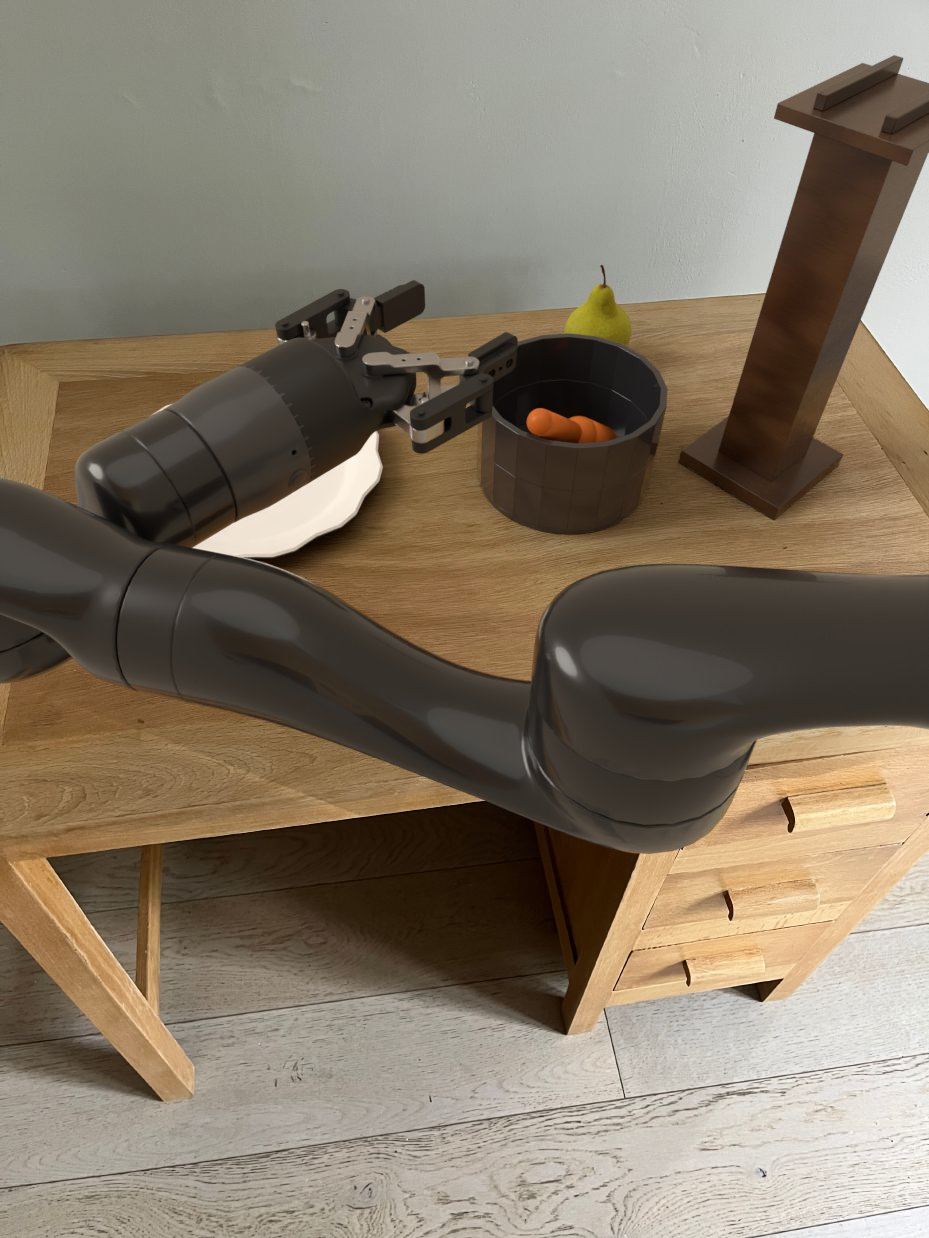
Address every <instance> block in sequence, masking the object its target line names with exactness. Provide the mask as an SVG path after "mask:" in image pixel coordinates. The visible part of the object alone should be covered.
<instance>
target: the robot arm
mask: <svg viewBox="0 0 929 1238" xmlns="http://www.w3.org/2000/svg"><path fill="white" fill-rule="evenodd" d="M425 309H426V289H425V285H424V284H422V283H421V282H419V281H417V280H416V279H412V280H411V281H408V282H407V283H403V284H400V285H399V284H398V285H397V286H395V287H393V288H392V289H388V290H387V291H385V292H383V293H381V294H379V295H377V296H375V297H373V296H371V295H370V296H369V295H363V296H360V297H358V298H357V299H356V298H354V297H353V298H352V297H351V294H350V291H349V290H347V289H345V288H338V289H335V290H333V291H332V290H331V292H328V293H327V294H325V295H323V296H322V297H319V298H317V299H316V300H314V301H312V302H310V303H309V304H306V305H305V306H303V307H301V308H300V309H297V310H296V311H293V312H292V313H290V314H289V315H287V316H284V317H283V318H281V319H279V320H278V321H276V322H275V323H274V325H275V326H274V327H275V332H276V340H277V346H275V347H273V348H271V349H269V350H267V351H265V352H263V353H260V354H259V355H257V356H255V357H253V358H250V359H249V360H247V361H245V362H243V363H241V364H239V365H237V366H235V367H233V368H231V369H229V370H227V371H226V372H223V373H221V374H219V375H217V376H215V377H213V378H211V379H209V380H207V381H206V382H203V383H201V384H200V385H198V386H196V387H195V388H193V389H192V390H190V391H188V392H187V393H186V394H184V395H182V396H181V397H180V398H179V399H177V400H176V401H175V402H173V403H171V404H172V405H170V404H169V405H170V406H168V407H166V408H165V409H163V410H162V411H159V410H158V411H159V412H157V411H156V412H157V413H155V412H154V413H155V414H154V413H152V414H153V415H152V414H151V415H149V416H148V417H145V418H143V419H141V420H140V421H137V422H136V423H133V424H131V425H130V426H128V427H125V428H124V429H122V430H120V431H118V432H116V433H113V434H112V435H110V436H108V437H105V438H103V439H102V440H101V441H98V442H97V443H95V444H93V445H91V446H90V447H88V448H87V449H86V450H85V451H83V452H82V453H81V455H79V456H78V458H77V460H76V462H75V466H74V487H75V492H76V497H77V498H76V501H77V505H76V504H74V503H72V502H70V501H68V500H65V499H64V498H61V497H59V496H56V495H54V494H52V493H49V492H47V491H45V490H42V489H40V488H37V487H34V486H32V485H30V484H26V483H22V482H19V481H16V480H11V479H7V478H4V477H3V478H2V477H0V685H3V684H6V685H7V684H12V683H13V684H14V683H19V682H24V681H28V680H31V679H34V678H38V677H40V676H42V675H45V674H48V673H49V672H52V671H54V670H56V669H58V668H59V667H62V666H63V665H65V664H66V663H68V662H69V661H71V660H72V659H73V660H74V661H75V662H76V663H77V664H78V665H79V666H80V667H81V668H82V669H83V670H85V671H86V672H87V673H89V674H90V675H91V676H93V677H94V678H96V679H98V680H100V681H102V682H104V683H107V684H108V685H109V684H110V685H113V686H116V687H118V688H121V689H122V688H123V689H125V690H130V691H134V692H139V693H143V694H147V695H152V696H156V697H161V698H164V699H169V700H173V701H178V702H183V703H186V704H191V705H195V706H200V707H203V708H209V709H213V710H218V711H222V712H227V713H231V714H235V715H239V716H243V717H247V718H251V719H255V720H259V721H262V722H267V723H269V724H270V723H271V724H274V725H277V726H281V727H285V728H287V729H292V730H295V731H298V732H301V733H303V734H307V735H310V736H312V737H315V738H319V739H321V740H325V741H327V742H330V743H332V744H336V745H339V746H341V747H345V748H347V749H350V750H353V751H356V752H359V753H361V754H364V755H366V756H368V757H372V758H374V759H377V760H379V761H382V762H385V763H387V764H390V765H393V766H395V767H397V768H400V769H402V770H406V771H408V772H410V773H413V774H415V775H419V776H421V777H423V778H426V779H429V780H431V781H434V782H436V783H439V784H441V785H444V786H446V787H449V788H452V789H454V790H457V791H460V792H462V793H465V794H467V795H470V796H472V797H475V798H477V799H480V800H482V801H485V802H487V803H489V804H492V805H494V806H497V807H499V808H501V809H504V810H506V811H508V812H511V813H514V814H515V815H518V816H521V817H523V818H525V819H528V820H530V821H532V822H535V823H537V824H539V825H542V826H545V827H547V828H550V829H551V830H555V831H557V832H560V833H563V834H565V835H568V836H570V837H574V838H576V839H579V840H581V841H584V842H587V843H589V844H593V845H597V846H599V847H603V848H607V849H610V850H616V851H618V852H619V851H621V852H625V853H631V854H643V855H645V854H646V855H653V854H661V853H671V852H674V851H678V850H680V849H683V848H687V847H689V846H692V845H694V844H695V843H697V842H698V841H700V840H702V839H703V838H704V837H706V836H707V835H709V834H710V833H711V832H712V831H713V830H714V829H715V828H716V827H717V826H718V824H719V823H721V821H722V820H723V819H724V817H725V815H726V813H727V812H728V811H729V808H730V807H731V805H732V803H733V801H734V798H735V796H736V794H737V791H738V789H739V787H740V785H741V782H742V780H743V778H744V775H745V772H746V769H747V766H748V764H749V761H750V759H751V757H752V755H753V752H754V749H755V747H756V744H757V743H758V741H759V740H760V739H764V738H767V737H771V736H776V735H780V734H786V733H794V732H800V731H809V730H817V729H818V730H819V729H827V728H831V729H832V728H855V727H880V726H881V727H883V726H884V727H885V726H893V727H912V728H916V729H917V728H918V729H923V730H928V731H929V573H927V574H925V573H924V574H892V573H891V574H890V573H889V574H887V573H885V574H883V573H882V574H878V573H857V572H856V573H855V572H837V571H820V570H804V569H803V570H802V569H791V568H790V569H787V568H774V567H773V568H771V567H756V566H743V565H742V566H738V565H721V564H703V563H702V564H701V563H647V564H645V563H644V564H634V565H628V566H621V567H617V568H611V569H606V570H601V571H598V572H595V573H593V574H590V575H587V576H585V577H582V578H580V579H578V580H576V581H574V582H572V583H571V584H569V585H567V586H566V587H564V588H563V589H562V590H561V591H559V593H557V594H556V595H555V596H554V597H553V598H552V599H551V601H550V602H549V603H548V605H547V606H546V607H545V609H544V611H543V612H542V614H541V617H540V619H539V622H538V625H537V629H536V633H535V638H534V643H533V644H534V645H533V653H532V660H531V661H532V664H531V674H530V675H531V677H530V678H531V679H530V680H527V679H521V678H519V679H518V678H515V677H514V678H513V677H508V676H502V675H498V674H497V675H496V674H492V673H488V672H484V671H480V670H477V669H475V668H471V667H468V666H465V665H462V664H459V663H456V662H454V661H451V660H449V659H446V658H445V657H443V656H440V655H438V654H436V653H434V652H432V651H430V650H428V649H426V648H424V647H422V646H420V645H418V644H416V643H415V642H413V641H411V640H409V639H407V638H406V637H404V636H402V635H400V634H399V633H396V631H393V630H392V629H390V628H388V627H387V626H385V625H383V624H382V623H380V622H378V621H377V620H375V619H374V618H372V617H371V616H369V615H367V614H366V613H365V612H363V611H361V610H360V609H358V608H357V607H355V606H354V605H352V604H351V603H349V602H347V601H346V600H344V599H343V598H341V597H339V596H338V595H336V594H335V593H333V592H331V591H329V590H328V589H326V588H324V587H322V586H321V585H318V584H317V583H315V582H312V581H310V580H309V579H306V578H305V577H302V576H300V575H298V574H295V573H293V572H291V571H288V570H286V569H283V568H281V567H278V566H274V565H272V564H269V563H267V562H264V561H260V560H259V561H258V560H257V559H256V560H255V559H253V558H243V557H238V556H233V555H226V554H222V553H217V552H211V551H206V550H201V549H196V548H193V547H195V546H196V545H198V544H200V543H201V542H203V541H205V540H206V539H208V538H210V537H211V536H213V535H215V534H216V533H218V532H220V531H221V530H223V529H225V528H226V527H228V526H230V525H231V524H232V523H235V522H237V521H239V520H241V519H243V518H245V517H247V516H249V515H252V514H254V513H257V512H259V511H261V510H264V509H266V508H268V507H270V506H272V505H274V504H275V503H277V502H279V501H280V500H282V499H284V498H285V497H287V496H289V495H290V494H292V493H293V492H295V491H297V490H298V489H300V488H302V487H303V486H305V485H307V484H308V483H310V482H312V481H313V480H315V479H317V478H318V477H320V476H322V475H323V474H325V473H327V472H328V471H330V470H332V469H333V468H335V467H337V466H338V465H340V464H341V463H343V462H345V461H346V460H348V459H350V458H351V457H353V456H355V455H356V454H357V453H359V451H360V450H361V449H362V447H363V446H364V444H365V443H366V442H367V440H368V439H369V437H370V436H371V435H372V434H373V433H374V432H376V431H377V432H378V431H380V430H384V429H389V428H395V427H398V428H399V429H401V430H402V431H403V432H404V433H406V434H407V435H408V436H409V437H410V441H411V442H410V443H411V450H412V451H413V452H414V453H417V454H422V455H423V454H428V453H430V452H431V451H434V450H435V449H437V448H438V447H441V446H442V445H443V444H445V443H447V442H449V441H451V440H452V439H454V438H456V437H457V436H460V435H461V434H463V433H465V432H467V431H469V430H470V429H472V428H474V427H476V426H478V424H479V423H481V422H483V421H485V420H486V419H488V418H490V417H491V416H492V405H493V383H494V382H495V381H497V380H498V379H500V378H501V377H503V376H505V375H506V374H508V373H510V372H511V371H513V370H514V368H515V367H516V359H517V343H518V340H519V339H518V337H517V336H515V335H514V334H513V333H510V332H508V331H505V332H503V333H501V334H499V335H498V336H496V337H494V338H493V339H491V340H489V341H487V342H486V343H483V344H482V345H480V346H479V347H477V348H475V349H474V350H472V351H470V352H468V353H467V355H468V356H456V357H445V358H444V357H443V358H442V357H440V356H439V354H438V353H437V352H435V351H426V352H414V353H413V352H412V353H410V352H409V351H407V350H405V349H404V348H401V347H398V346H395V345H393V344H392V343H391V342H390V341H389V340H388V339H387V338H386V337H384V336H382V335H381V334H379V332H378V331H381V332H382V333H384V334H386V333H388V332H390V331H392V330H394V329H396V328H398V327H400V326H401V325H403V324H405V323H407V322H409V321H411V320H413V319H415V318H417V317H419V316H420V315H422V314H423V313H424V312H425ZM332 313H333V316H334V317H333V318H334V319H332V320H330V321H329V322H327V318H328V316H329V315H330V314H332ZM417 373H424V374H425V375H426V389H425V390H424V391H423V392H421V393H415V392H416V388H417ZM447 377H459V378H458V379H459V380H458V384H449V385H447V384H446V385H442V380H443V378H447ZM468 404H469V406H467V405H468Z"/></svg>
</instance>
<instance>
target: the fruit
mask: <svg viewBox="0 0 929 1238" xmlns="http://www.w3.org/2000/svg"><path fill="white" fill-rule="evenodd" d="M600 268H601V273H602V276H603V283H599V284H596V285H595V286H594V287H593V288H592V289H591V291H590V293H589V296H588V298H587V300H586V301H585V302H584V303H582V304H581V305H579V306H578V307H577V308H576V309H574V310H573V311H572V312H571V313H570V315H569V316H568V318H567V320H566V322H565V326H564V329H563V330H564V332H563V334H566V333H568V334H569V333H571V334H580V335H589V336H596V337H600V338H604V339H607V340H610V341H614V342H617V343H620V344H623V345H625V346H627V347H628V345H629V342H630V340H631V336H632V330H633V329H632V323H631V319H630V316H629V315H628V313H627V311H626V310H625V309H624V308H623V307H622V306H620V305H619V304H618V303H617V302H616V300H615V299H616V298H615V293H614V290H613V288H612V287H611V286H610V285H608V284H607V280H606V278H607V277H606V270H605V267H604V265H603V264H600Z"/></svg>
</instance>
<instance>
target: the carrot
mask: <svg viewBox="0 0 929 1238" xmlns="http://www.w3.org/2000/svg"><path fill="white" fill-rule="evenodd" d="M527 427H528V429H529V431H530V432H531V433H533V434H534V435H537V436H540V437H542V438H545V439H548V440H552V441H561V442H569V443H577V444H580V443H592V442H604V441H609V440H613V439H616V438H619V436H617V435H616V433H615V432H614V431H613V430H612V429H611V428H609V427H607V426H605V425H603V424H600V423H598V422H596V421H594V420H591V419H589V418H587V417H583V416H575V417H571V418H569V419H568V418H565V417H563V416H561V415H558V414H556V413H554V412H551V411H549V410H546V409H543V408H538V409H535V410H533V411H532V412H531V413H530V414H529V415H528V417H527Z"/></svg>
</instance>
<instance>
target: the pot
mask: <svg viewBox="0 0 929 1238" xmlns="http://www.w3.org/2000/svg"><path fill="white" fill-rule="evenodd" d="M668 391H669V389H668V386H667V384H666V382H665V380H664V377H663V376H662V373H661V371H660V370H659V369H658V368H657V367H656V366H655V365H654V364H653V363H652V362H651V361H650V360H648V359H647V357H646V356H644V355H643V354H641V353H639V352H637V351H635V350H634V349H632V348H630V347H628V345H627V346H625V345H623V344H620V343H617V342H614V341H610V340H607V339H604V338H600V337H596V336H589V335H580V334H571V333H569V334H568V333H566V334H564V333H555V334H554V333H553V334H552V333H551V334H541V335H537V336H534V337H529V338H525V339H521V340H519V341H518V343H517V359H516V367H515V368H514V370H513V371H511V372H510V373H508V374H506V375H505V376H503V377H501V378H500V379H498V380H497V381H495V382H494V383H493V405H492V416H491V417H490V418H488V419H486V420H485V421H483V422H481V423H479V424H477V451H476V452H477V453H476V470H477V478H478V482H479V486H480V489H481V491H482V492H483V495H484V496H485V498H486V499H487V501H488V502H489V503H490V505H492V506H493V507H494V508H495V510H497V511H498V512H499V513H500V514H502V515H504V516H505V517H506V518H508V519H509V520H510V521H513V522H515V523H517V524H519V525H522V526H524V527H526V528H529V529H532V530H536V531H540V532H545V533H550V534H556V535H557V534H558V535H580V534H589V533H593V532H599V531H602V530H605V529H608V528H611V527H613V526H615V525H617V524H619V523H621V522H622V521H624V520H625V519H628V518H629V517H630V516H631V515H632V514H633V513H634V512H635V511H636V510H637V509H638V508H639V506H641V504H642V502H643V501H644V498H645V496H646V494H647V492H648V489H649V486H650V481H651V475H652V472H653V469H654V464H655V460H656V456H657V450H658V447H659V441H660V438H661V435H662V434H661V433H662V429H663V425H664V420H665V417H666V416H665V415H666V411H667V407H668ZM538 408H543V409H546V410H549V411H551V412H554V413H556V414H558V415H561V416H563V417H565V418H568V419H569V418H571V417H575V416H583V417H587V418H589V419H591V420H594V421H596V422H598V423H600V424H603V425H605V426H607V427H609V428H611V429H612V430H613V431H614V432H615V433H616V435H617V436H619V438H616V439H613V440H609V441H604V442H592V443H580V444H577V443H569V442H561V441H552V440H548V439H545V438H542V437H540V436H537V435H534V434H533V433H531V432H530V431H529V429H528V427H527V417H528V415H529V414H530V413H531V412H532V411H533V410H535V409H538Z"/></svg>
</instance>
